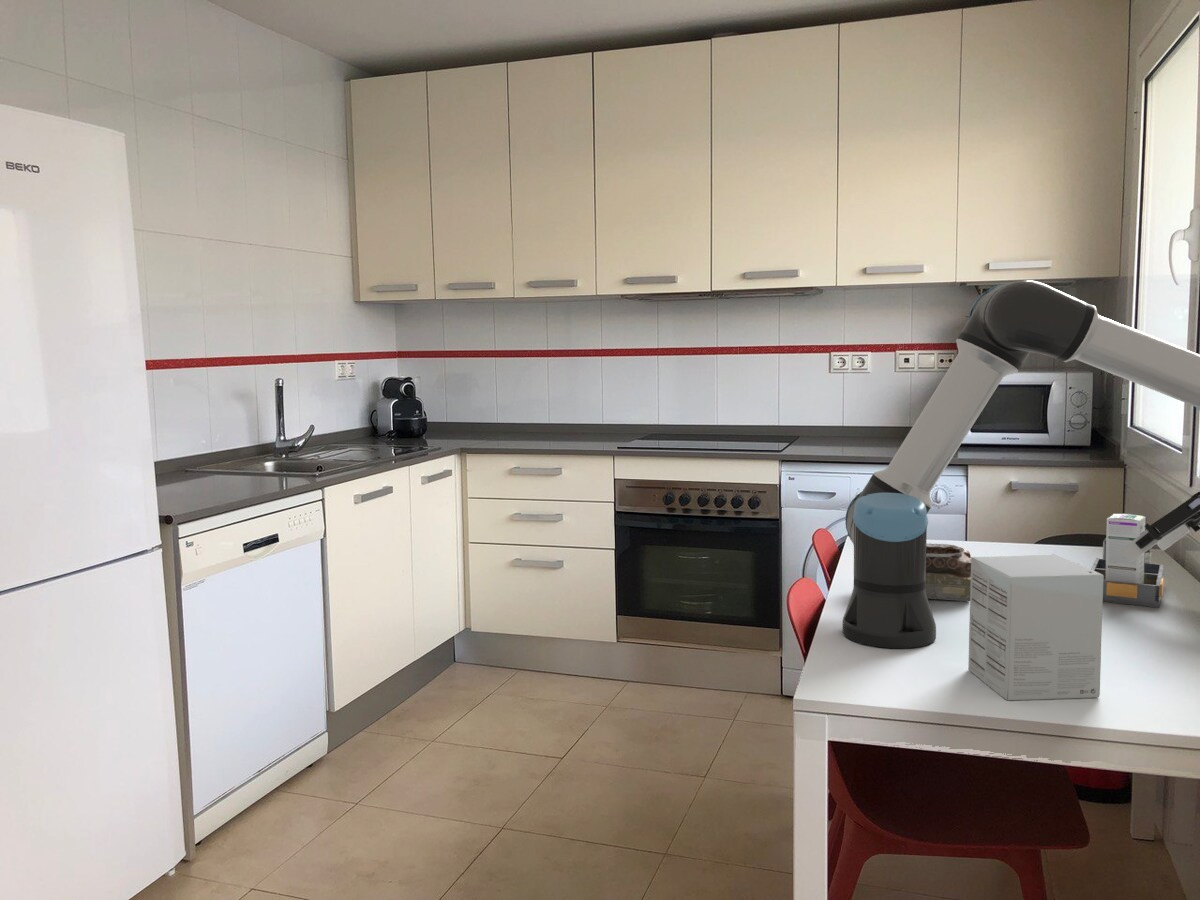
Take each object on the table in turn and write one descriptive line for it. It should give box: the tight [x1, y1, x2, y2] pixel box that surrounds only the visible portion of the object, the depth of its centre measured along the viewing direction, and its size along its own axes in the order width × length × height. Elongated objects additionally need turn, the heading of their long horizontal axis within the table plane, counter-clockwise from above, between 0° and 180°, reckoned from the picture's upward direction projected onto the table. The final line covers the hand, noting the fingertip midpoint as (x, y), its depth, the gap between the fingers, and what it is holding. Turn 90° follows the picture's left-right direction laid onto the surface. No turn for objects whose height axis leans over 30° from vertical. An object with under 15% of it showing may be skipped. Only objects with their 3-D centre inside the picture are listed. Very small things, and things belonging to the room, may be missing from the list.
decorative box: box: [926, 542, 972, 602], centre depth 183 cm, size 13×20×10 cm, turn 67°
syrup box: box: [1105, 513, 1146, 584], centre depth 180 cm, size 6×6×14 cm
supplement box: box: [967, 554, 1104, 701], centre depth 136 cm, size 13×13×18 cm
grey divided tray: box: [1090, 557, 1165, 608], centre depth 185 cm, size 20×12×4 cm, turn 148°
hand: (1142, 550), depth 178 cm, fingers open, 13 cm apart
